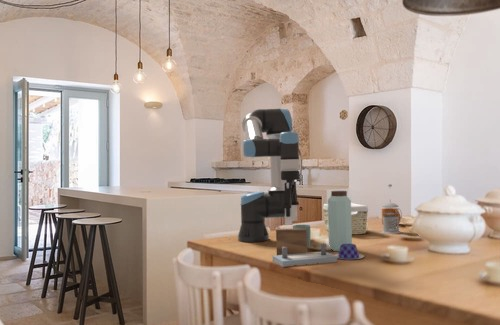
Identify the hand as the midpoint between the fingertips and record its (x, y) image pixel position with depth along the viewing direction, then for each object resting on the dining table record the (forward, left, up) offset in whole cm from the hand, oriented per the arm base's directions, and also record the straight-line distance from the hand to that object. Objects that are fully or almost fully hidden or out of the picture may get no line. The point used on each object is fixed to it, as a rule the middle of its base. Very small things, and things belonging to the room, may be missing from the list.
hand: (291, 222), depth 191 cm
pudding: (+10, +20, -14) cm, 26 cm away
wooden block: (0, 0, -14) cm, 14 cm away
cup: (-14, +10, -14) cm, 22 cm away
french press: (-37, +70, -14) cm, 81 cm away
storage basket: (-48, +49, -14) cm, 70 cm away
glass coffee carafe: (-61, +85, -14) cm, 106 cm away
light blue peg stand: (+10, +1, -14) cm, 17 cm away
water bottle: (-5, +24, -14) cm, 28 cm away
